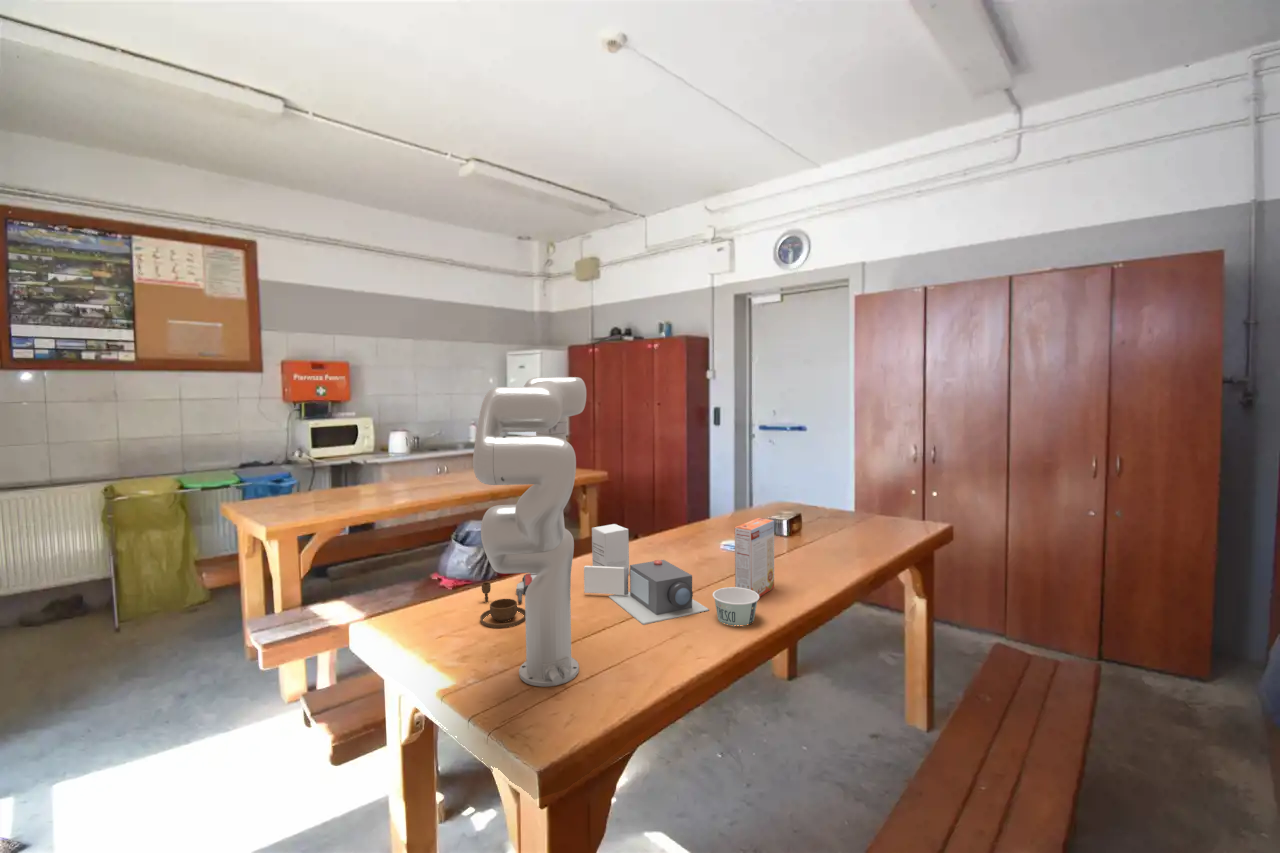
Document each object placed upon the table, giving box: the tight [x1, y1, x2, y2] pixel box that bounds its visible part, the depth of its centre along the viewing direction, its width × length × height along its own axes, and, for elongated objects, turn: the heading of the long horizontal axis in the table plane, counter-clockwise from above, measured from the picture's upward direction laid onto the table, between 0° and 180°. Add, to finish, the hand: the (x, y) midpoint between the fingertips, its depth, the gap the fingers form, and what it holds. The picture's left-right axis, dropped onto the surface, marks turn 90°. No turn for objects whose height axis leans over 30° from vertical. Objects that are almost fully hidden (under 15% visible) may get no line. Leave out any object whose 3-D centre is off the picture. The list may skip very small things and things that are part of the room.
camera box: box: [608, 559, 710, 626], centre depth 165 cm, size 22×20×10 cm
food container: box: [712, 586, 760, 627], centre depth 154 cm, size 12×12×6 cm
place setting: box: [479, 581, 526, 629], centre depth 159 cm, size 18×20×6 cm
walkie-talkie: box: [515, 573, 537, 603], centre depth 175 cm, size 9×4×20 cm
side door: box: [583, 565, 629, 595], centre depth 171 cm, size 13×1×8 cm, turn 81°
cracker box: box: [734, 517, 775, 598], centre depth 172 cm, size 14×6×21 cm, turn 141°
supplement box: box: [591, 523, 630, 575], centre depth 191 cm, size 9×9×15 cm
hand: (552, 503), depth 145 cm, fingers closed
